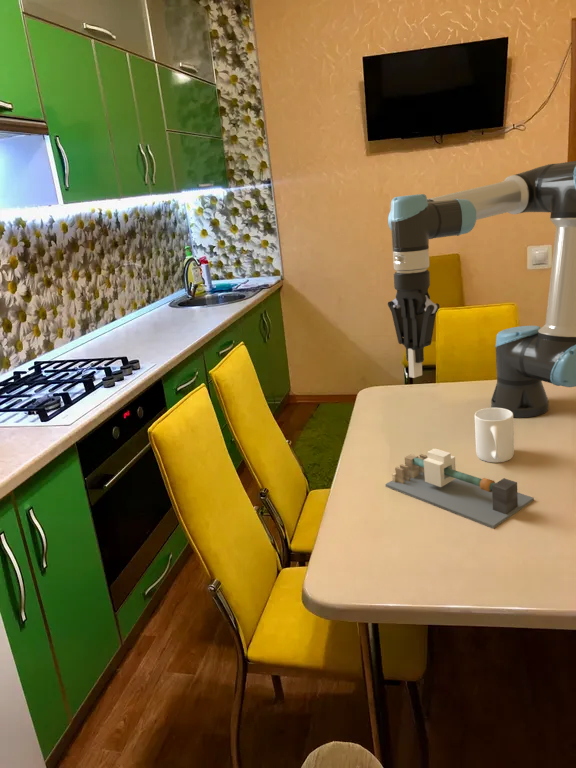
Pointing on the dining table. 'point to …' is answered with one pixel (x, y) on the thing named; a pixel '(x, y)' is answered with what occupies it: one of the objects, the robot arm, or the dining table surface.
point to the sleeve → (438, 467)
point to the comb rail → (501, 491)
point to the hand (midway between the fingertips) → (415, 375)
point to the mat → (459, 499)
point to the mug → (494, 434)
